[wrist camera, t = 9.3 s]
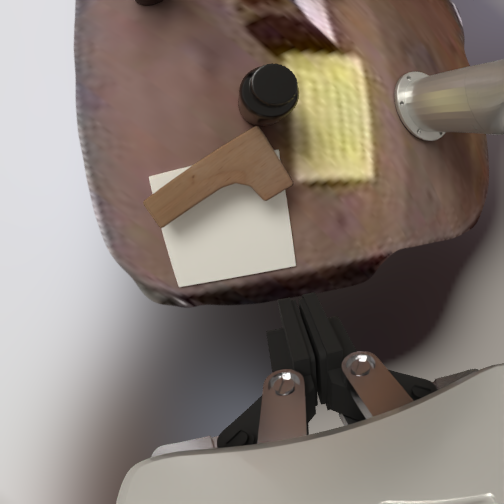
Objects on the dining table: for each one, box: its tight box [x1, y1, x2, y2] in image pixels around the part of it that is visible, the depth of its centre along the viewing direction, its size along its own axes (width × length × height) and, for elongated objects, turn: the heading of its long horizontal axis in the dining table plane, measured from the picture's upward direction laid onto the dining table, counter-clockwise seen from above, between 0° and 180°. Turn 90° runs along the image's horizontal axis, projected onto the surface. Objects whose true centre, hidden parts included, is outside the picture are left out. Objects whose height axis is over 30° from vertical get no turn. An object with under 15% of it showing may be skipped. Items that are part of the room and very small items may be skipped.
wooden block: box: [143, 126, 293, 228], centre depth 36 cm, size 9×4×18 cm
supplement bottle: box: [238, 64, 299, 126], centre depth 29 cm, size 7×7×12 cm
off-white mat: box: [149, 149, 296, 287], centre depth 40 cm, size 19×18×1 cm
